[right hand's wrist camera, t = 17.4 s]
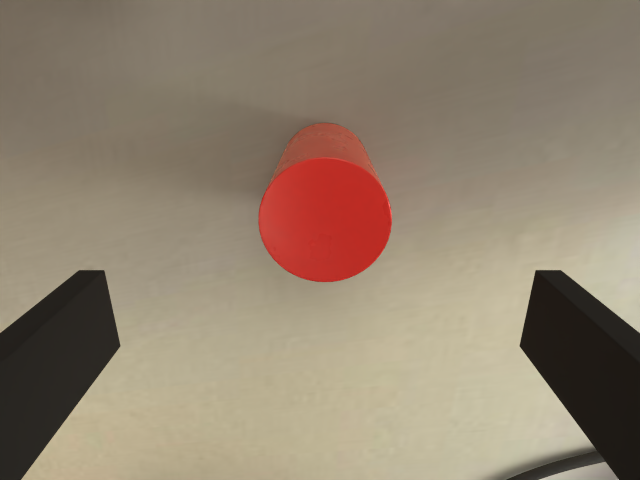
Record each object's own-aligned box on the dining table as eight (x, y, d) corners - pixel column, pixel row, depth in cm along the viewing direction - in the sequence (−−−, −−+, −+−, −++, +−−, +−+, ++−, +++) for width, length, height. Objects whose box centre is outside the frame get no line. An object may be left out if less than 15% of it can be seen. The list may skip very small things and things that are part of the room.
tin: (370, 123, 27) (397, 158, 17) (365, 208, 29) (386, 283, 19) (280, 122, 27) (254, 156, 17) (282, 207, 29) (261, 281, 19)
